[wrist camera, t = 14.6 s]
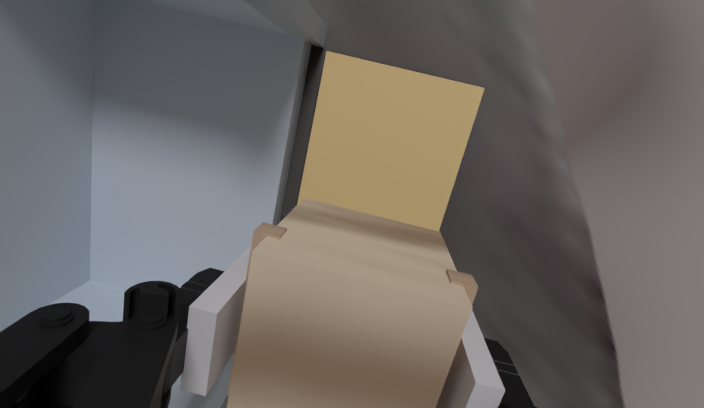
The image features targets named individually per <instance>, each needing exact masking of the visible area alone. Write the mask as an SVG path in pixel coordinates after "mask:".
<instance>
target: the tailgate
mask: <svg viewBox="0 0 704 408" xmlns="http://www.w3.org/2000/svg"><path fill="white" fill-rule="evenodd" d="M484 89H485V88H482V87H478V86H474V85H469V84H465V83H461V82H457V81H452V80H448V79H444V78H440V77H435V76H431V75H427V74H423V73H418V72H414V71H410V70H406V69H401V68H397V67H393V66H388V65H384V64H380V63H376V62H371V61H367V60H363V59H359V58H354V57H350V56H346V55H342V54H337V53H333V52H329V51H327V52H326V57H325V62H324V68H323V73H322V78H321V83H320V88H319V94H318V99H317V104H316V109H315V114H314V120H313V125H312V130H311V135H310V140H309V146H308V151H307V156H306V161H305V166H304V172H303V177H302V182H301V187H300V192H299V198H298V203H297V205H298V204H299V203H300V202H301V201H302V200H303V199H304V198H307V199H311V200H315V201H319V202H323V203H327V204H331V205H335V206H339V207H343V208H347V209H351V210H355V211H359V212H363V213H367V214H371V215H375V216H379V217H383V218H386V219H390V220H394V221H398V222H402V223H406V224H410V225H414V226H418V227H422V228H426V229H430V230H434V231H438V232H439V229H440V226H441V223H442V220H443V217H444V214H445V210H446V207H447V204H448V201H449V198H450V195H451V192H452V189H453V185H454V182H455V179H456V176H457V173H458V170H459V167H460V164H461V160H462V157H463V154H464V151H465V148H466V145H467V142H468V139H469V135H470V132H471V129H472V126H473V123H474V120H475V117H476V114H477V111H478V107H479V104H480V101H481V98H482V95H483V92H484Z"/></svg>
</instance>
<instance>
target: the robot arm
mask: <svg viewBox="0 0 704 408" xmlns="http://www.w3.org/2000/svg"><path fill="white" fill-rule="evenodd" d="M250 251H251V246H250V247H249V248H248V249H247V250H246V251H245V252H244V253H243V254H242V255H241V256H240V257H239V258H238V259H237V260H236V261H235V262H234V263H233V264H232V265H231V266H230V267H229V268H228V269H227V270H226V271H221V270H217V269H214V268H208V269H205V270H203V271H200V272H197V273H196V274H195V275H194V276H193V277H191V278H190V279H189V280H188V282H186V283H184V284H183V285H182V286H181V288H179V287H178V286H177V285H174V284H172V283H170V282H165V281H147V282H142V283H138V284H136V285H134V286H131V287H130V288H129V289H127V290H126V291H125V292H124V308H123V321H120V322H108V321H89V314H90V311H89V310H88V309H87V308H86V307H85V306H83V305H80V304H77V303H56V304H51V305H47V306H44V307H40V308H38V309H36V310H34V311H32V312H30V313H28V314H27V315H25V316H24V317H22V318H21V319H19V320H18V321H16V322H15V323H13V324H12V325H10V326H9V327H7V328H6V329H4V330H3V331H1V332H0V408H168V406H169V402H170V399H171V389H172V385H173V384H174V383H175V382H176V380H177V379H178V378H179V377H180V375H181V374H182V375H181V384H180V389H181V390H184V391H188V392H192V393H195V394H199V395H202V396H206V395H207V393H208V392H209V390H210V389H211V387H212V386H213V384H214V383H215V381H216V379H217V378H218V376H219V375H220V373H221V372H222V370H223V368H224V367H225V365H226V364H227V362H228V361H229V359H230V357H231V356H232V354H233V353H234V351H235V348H236V342H237V336H238V329H239V323H240V317H241V311H242V305H243V299H244V293H245V286H246V280H247V278H246V276H247V269H248V263H249V257H250ZM513 365H514V364H513V362H512V360H511V358H510V356H509V354H508V352H507V351H506V350H505V349H504V348H503V347H502V346H501V345H500V344H499V343H498V342H497V341H494V340H490V339H486V338H483V335H482V333H481V330H480V328H479V326H478V323H477V321H476V318H475V316H474V314H473V311H472V310H471V313H470V316H469V318H468V321H467V324H466V327H465V329H464V332H463V335H462V337H461V340H460V343H459V346H458V348H457V351H456V354H455V356H454V359H453V362H452V365H451V367H450V370H449V373H448V375H447V378H446V381H445V383H444V386H443V389H442V392H441V394H440V397H439V400H438V402H437V405H436V408H537V407H535V406H534V405H533V403H532V401H531V399H530V397H529V395H528V393H527V390H526V388H525V386H524V384H523V382H522V380H521V378H520V376H518V372H517V370H516V368H515V367H514V366H513Z"/></svg>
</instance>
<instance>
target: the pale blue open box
mask: <svg viewBox="0 0 704 408" xmlns="http://www.w3.org/2000/svg"><path fill="white" fill-rule="evenodd" d="M327 29H328V27H327V26H326V24H325V23H324V22H323V20H322V19H321V18H320V16H319V15H318V14H317V12H316V11H315V10H314V8H313V7H312V6H311V4H310V3H309V2H308V0H0V332H1V331H3V330H4V329H6V328H7V327H9V326H10V325H12V324H13V323H15V322H16V321H18V320H19V319H21V318H22V317H24V316H25V315H27V314H28V313H30V312H32V311H34V310H36V309H38V308H40V307H44V306H47V305H51V304H56V303H77V304H80V305H83V306H85V307H86V308H87V309H88V310H89V311H90V314H89V321H108V322H120V321H123V308H124V292H125V291H126V290H127V289H129V288H130V287H131V286H134V285H136V284H138V283H142V282H147V281H165V282H170V283H172V284H174V285H177V286H178V287H179V288H181V286H182V285H183V284H184V283H186V282H188V280H189V279H190V278H191V277H193V276H194V275H195V274H196V273H197V272H200V271H203V270H205V269H208V268H214V269H217V270H221V271H226V270H227V269H228V268H229V267H230V266H231V265H232V264H233V263H234V262H235V261H236V260H237V259H238V258H239V257H240V256H241V255H242V254H243V253H244V252H245V251H246V250H247V249H248V248H249V247H250V246H251V245H252V238H253V232H254V230H255V229H256V228H257V227H258V226H259V225H260V224H262V223H263V222H264V223H268V224H272V225H276V226H277V225H278V224H279V223H280V218H281V213H282V207H283V202H284V196H285V191H286V185H287V180H288V174H289V168H290V163H291V157H292V152H293V146H294V141H295V135H296V130H297V124H298V118H299V113H300V107H301V102H302V96H303V91H304V85H305V80H306V74H307V68H308V63H309V57H310V52H311V46H312V45H314V46H318V47H322V48H324V45H325V40H326V35H327ZM233 356H234V353H233V354H232V356H231V357H230V359H229V361H228V362H227V364H226V365H225V367H224V368H223V370H222V372H221V373H220V375H219V376H218V378H217V379H216V381H215V383H214V384H213V386H212V387H211V389H210V390H209V392H208V393H207V395H206V396H202V395H199V394H195V393H192V392H188V391H184V390H181V389H180V384H181V375H182V374H181V375H180V377H179V378H178V379H177V380H176V382H175V383H174V384H173V385H172V389H171V399H170V402H169V406H168V408H227V403H228V397H229V395H227V393H228V387H229V381H230V374H231V368H232V362H233Z"/></svg>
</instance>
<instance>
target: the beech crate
mask: <svg viewBox="0 0 704 408" xmlns="http://www.w3.org/2000/svg"><path fill="white" fill-rule="evenodd" d="M246 278H247V280H246V286H245V293H244V299H243V305H242V311H241V317H240V323H239V329H238V336H237V342H236V348H235V351H234V356H233V362H232V368H231V374H230V381H229V387H228V393H227V395H229V397H228V403H227V408H436V405H437V402H438V400H439V397H440V394H441V392H442V389H443V386H444V383H445V381H446V378H447V375H448V373H449V370H450V367H451V365H452V362H453V359H454V356H455V354H456V351H457V348H458V346H459V343H460V340H461V337H462V335H463V332H464V329H465V327H466V324H467V321H468V318H469V316H470V313H471V310H472V308H473V307H472V304H473V301H474V298H475V296H476V293H477V290H478V286H477V284H476V282H475V280H474V278H473V276H472V275H469V274H465V273H461V272H457V270H456V268H455V266H454V263H453V261H452V259H451V256H450V254H449V252H448V249H447V247H446V245H445V242H444V240H443V238H442V235H441V233H440V232H438V231H434V230H430V229H426V228H422V227H418V226H414V225H410V224H406V223H402V222H398V221H394V220H390V219H386V218H383V217H379V216H375V215H371V214H367V213H363V212H359V211H355V210H351V209H347V208H343V207H339V206H335V205H331V204H327V203H323V202H319V201H315V200H311V199H307V198H304V199H303V200H302V201H301V202H300V203H299V204H298V205H297V206H296V207H295V208H294V209H293V210H292V211H291V212H290V213H289V214H288V215H287V216H286V217H285V218H284V219H283V220H282V221H281V222H280V223H279V224H278V225H277V226H276V225H272V224H268V223H264V222H263V223H262V224H260V225H259V226H258V227H257V228H256V229H255V230H254V232H253V238H252V245H251V251H250V257H249V263H248V269H247V276H246Z"/></svg>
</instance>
